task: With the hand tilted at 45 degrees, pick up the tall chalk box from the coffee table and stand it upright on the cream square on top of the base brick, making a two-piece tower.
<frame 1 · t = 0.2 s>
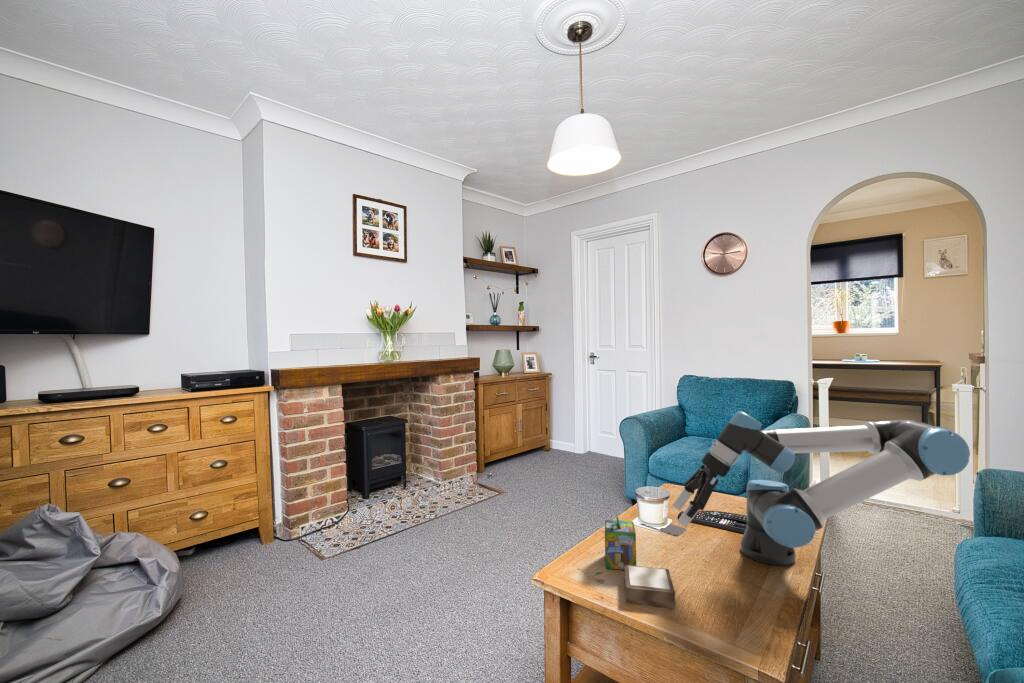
hand: (678, 515, 135), 15 cm above the table, tool tilted 35°, fingers open, 13 cm apart
base brick: (648, 592, 121), on the table
chalk box: (620, 563, 138), on the table
smartphone: (662, 528, 164), on the table
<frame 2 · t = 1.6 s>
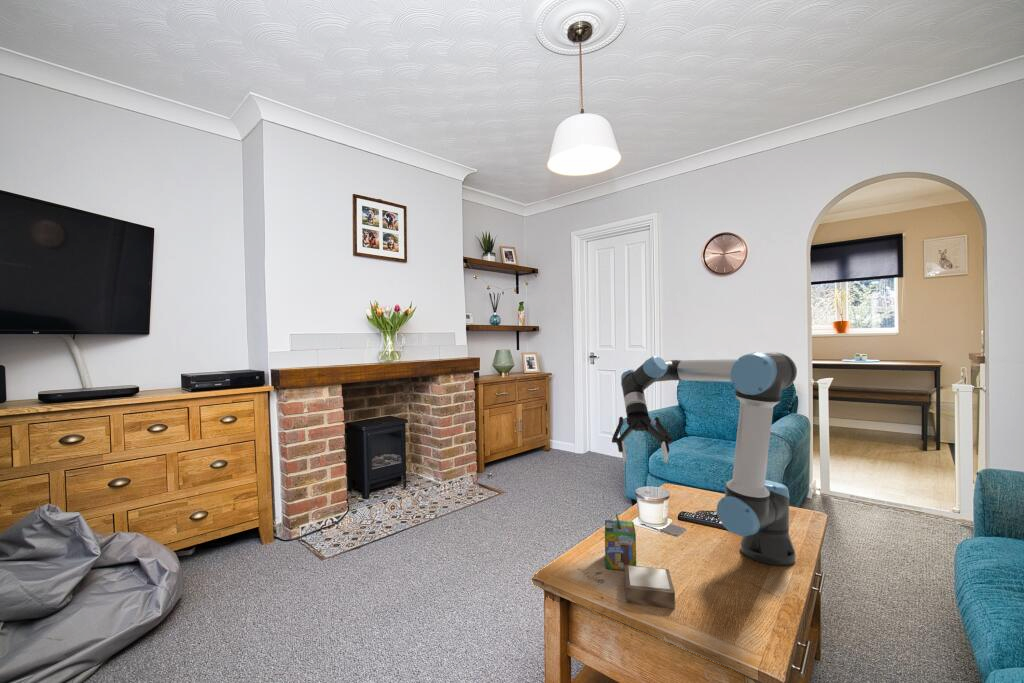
hand: (645, 460, 148), 28 cm above the table, tool tilted 45°, fingers open, 13 cm apart
nothing on the table moved.
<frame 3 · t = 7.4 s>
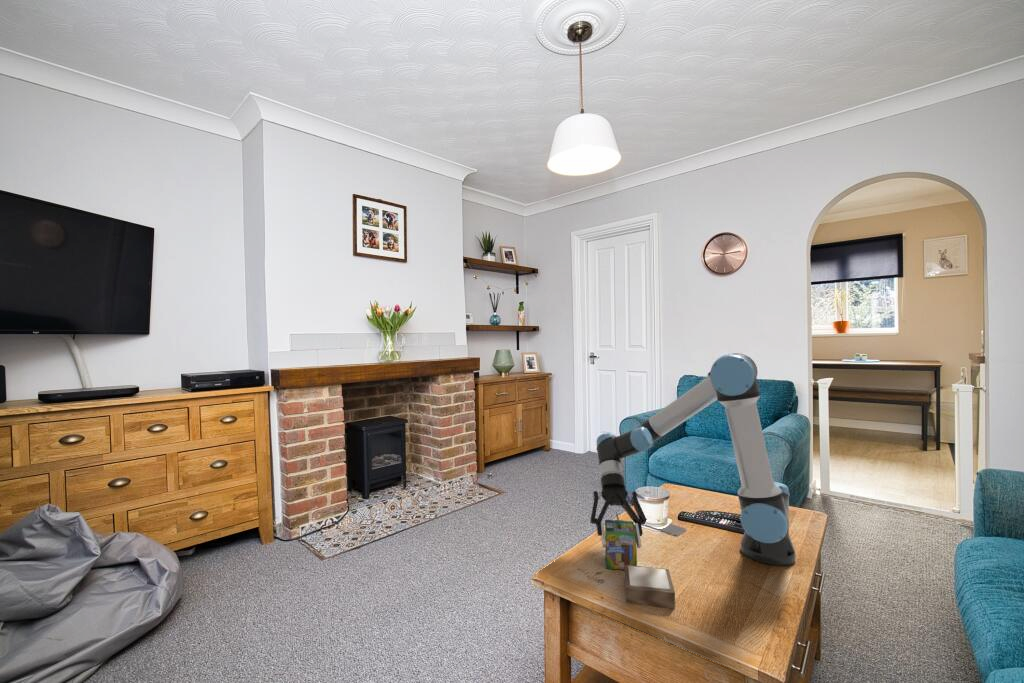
hand: (621, 546, 134), 7 cm above the table, tool tilted 45°, fingers closed on chalk box, 10 cm apart
chalk box: (620, 563, 138), on the table, touching gripper
everything else where it was.
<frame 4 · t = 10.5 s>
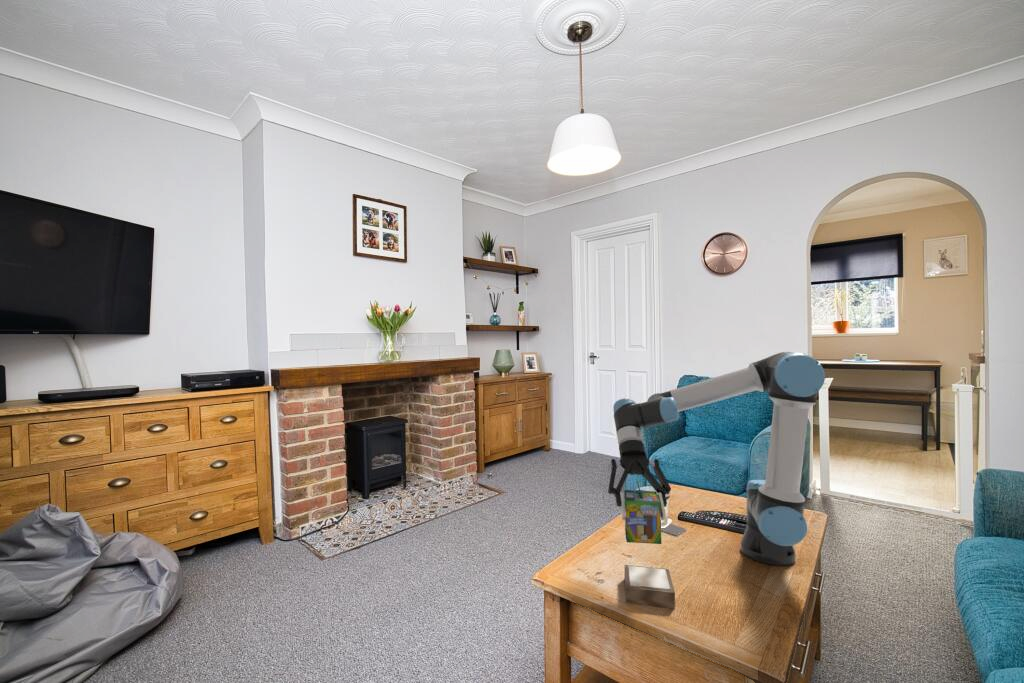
hand: (644, 517, 121), 21 cm above the table, tool tilted 45°, fingers closed on chalk box, 10 cm apart
chalk box: (642, 537, 124), point 14 cm above the table, touching gripper
everything else where it was.
when the fingers open (12 cm above the table, at t = 13.8 s): chalk box drops 1 cm, resting on base brick.
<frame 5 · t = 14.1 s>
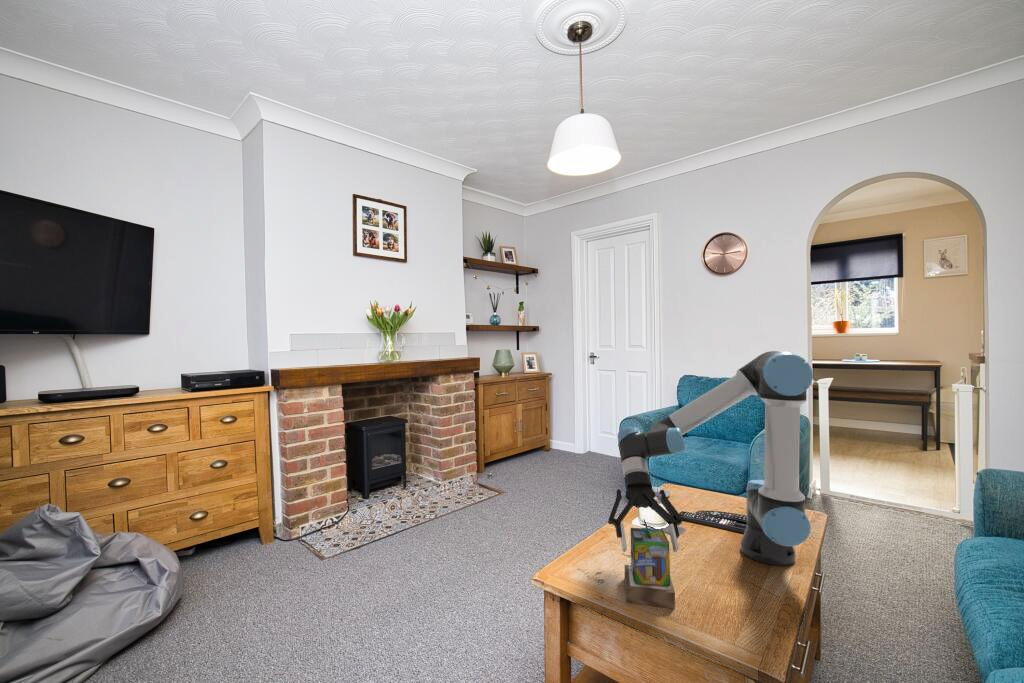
hand: (650, 550, 119), 13 cm above the table, tool tilted 45°, fingers open, 13 cm apart
chalk box: (649, 577, 121), point 4 cm above the table, touching base brick
everything else where it was.
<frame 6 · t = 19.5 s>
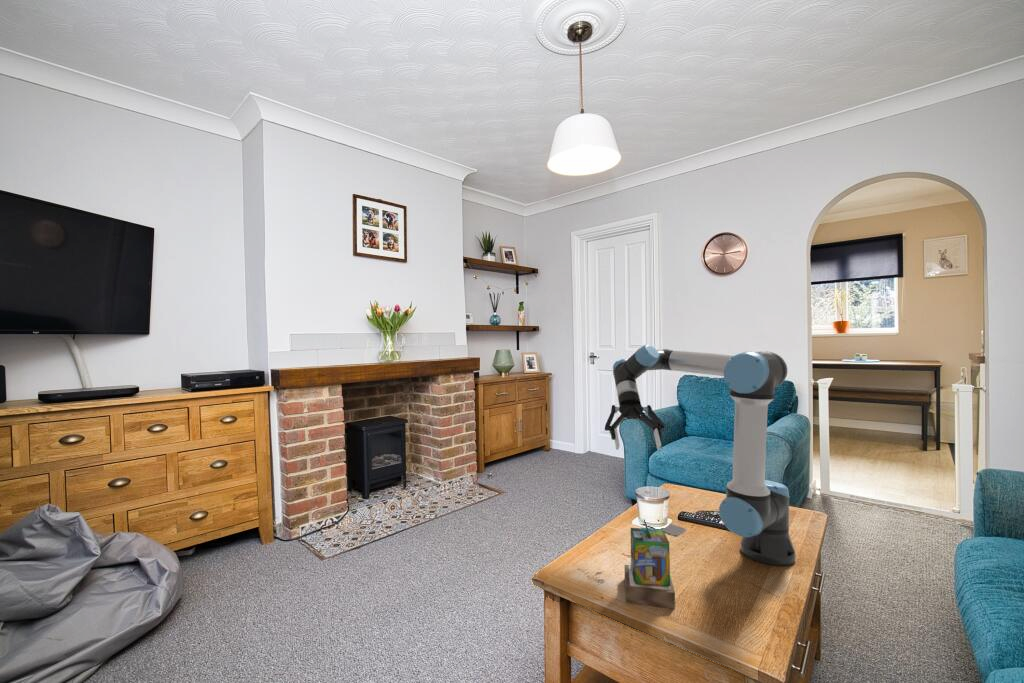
hand: (638, 447, 148), 33 cm above the table, tool tilted 45°, fingers open, 13 cm apart
nothing on the table moved.
at the end: chalk box inside the target area on the base brick (0.3 cm from its centre), point 4.1 cm above the base brick's base; chalk box tilted 0°; the gripper is holding nothing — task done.
